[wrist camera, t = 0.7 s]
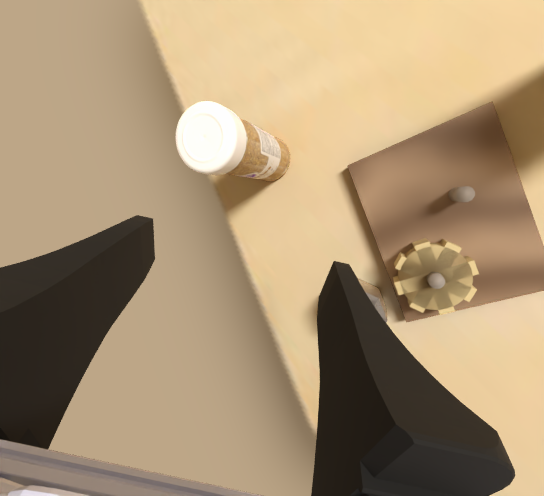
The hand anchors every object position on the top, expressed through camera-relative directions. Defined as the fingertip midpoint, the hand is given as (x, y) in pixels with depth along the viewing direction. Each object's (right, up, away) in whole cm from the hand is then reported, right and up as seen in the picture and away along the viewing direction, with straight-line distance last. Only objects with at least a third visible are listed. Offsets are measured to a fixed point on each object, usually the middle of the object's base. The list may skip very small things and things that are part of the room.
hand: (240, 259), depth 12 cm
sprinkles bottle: (+1, +10, +20) cm, 22 cm away
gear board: (+17, +3, +16) cm, 23 cm away
